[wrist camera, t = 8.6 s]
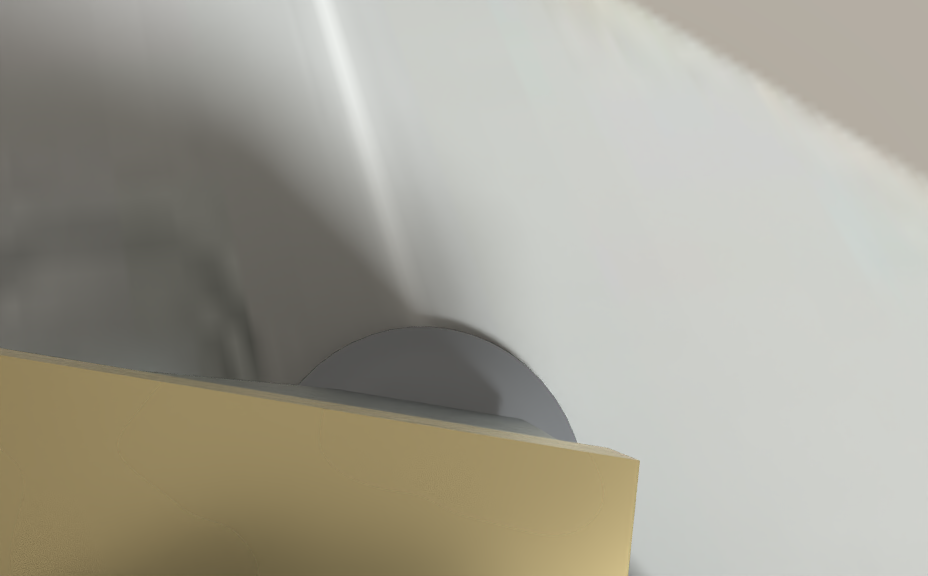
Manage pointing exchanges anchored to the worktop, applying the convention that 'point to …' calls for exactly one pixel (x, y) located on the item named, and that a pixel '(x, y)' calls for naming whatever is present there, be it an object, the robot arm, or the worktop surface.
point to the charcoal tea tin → (289, 482)
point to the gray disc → (443, 375)
